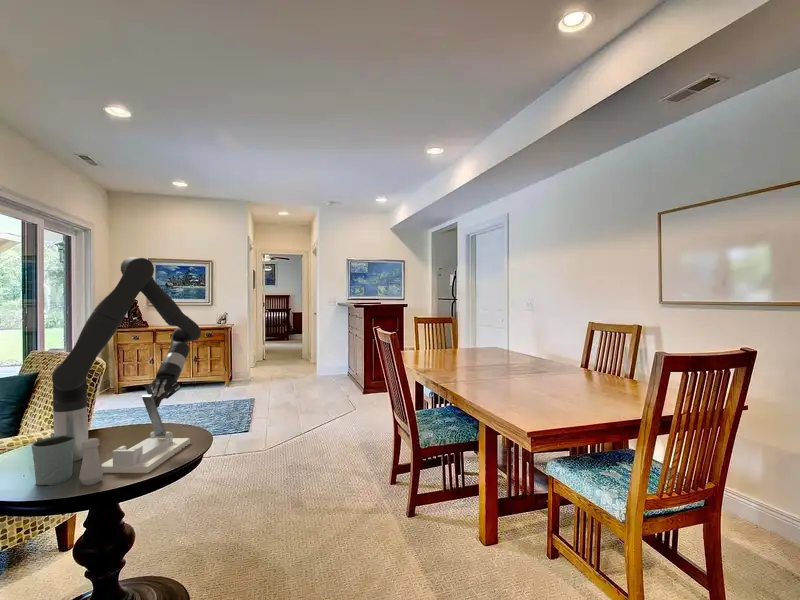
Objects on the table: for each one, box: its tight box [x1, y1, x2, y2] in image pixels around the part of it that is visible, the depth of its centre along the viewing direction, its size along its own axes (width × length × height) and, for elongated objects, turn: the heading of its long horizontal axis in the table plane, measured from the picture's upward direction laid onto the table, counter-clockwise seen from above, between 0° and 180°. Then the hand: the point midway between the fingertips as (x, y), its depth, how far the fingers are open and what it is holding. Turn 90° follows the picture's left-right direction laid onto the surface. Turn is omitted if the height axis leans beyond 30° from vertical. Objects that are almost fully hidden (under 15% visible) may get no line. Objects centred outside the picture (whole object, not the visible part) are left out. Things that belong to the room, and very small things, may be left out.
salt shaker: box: [78, 437, 104, 486], centre depth 124 cm, size 6×6×13 cm
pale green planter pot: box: [31, 435, 75, 486], centre depth 127 cm, size 10×10×12 cm
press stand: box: [101, 431, 191, 474], centre depth 143 cm, size 16×25×7 cm, turn 179°
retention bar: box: [141, 394, 167, 437], centre depth 147 cm, size 3×19×1 cm
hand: (152, 408), depth 147 cm, fingers closed
